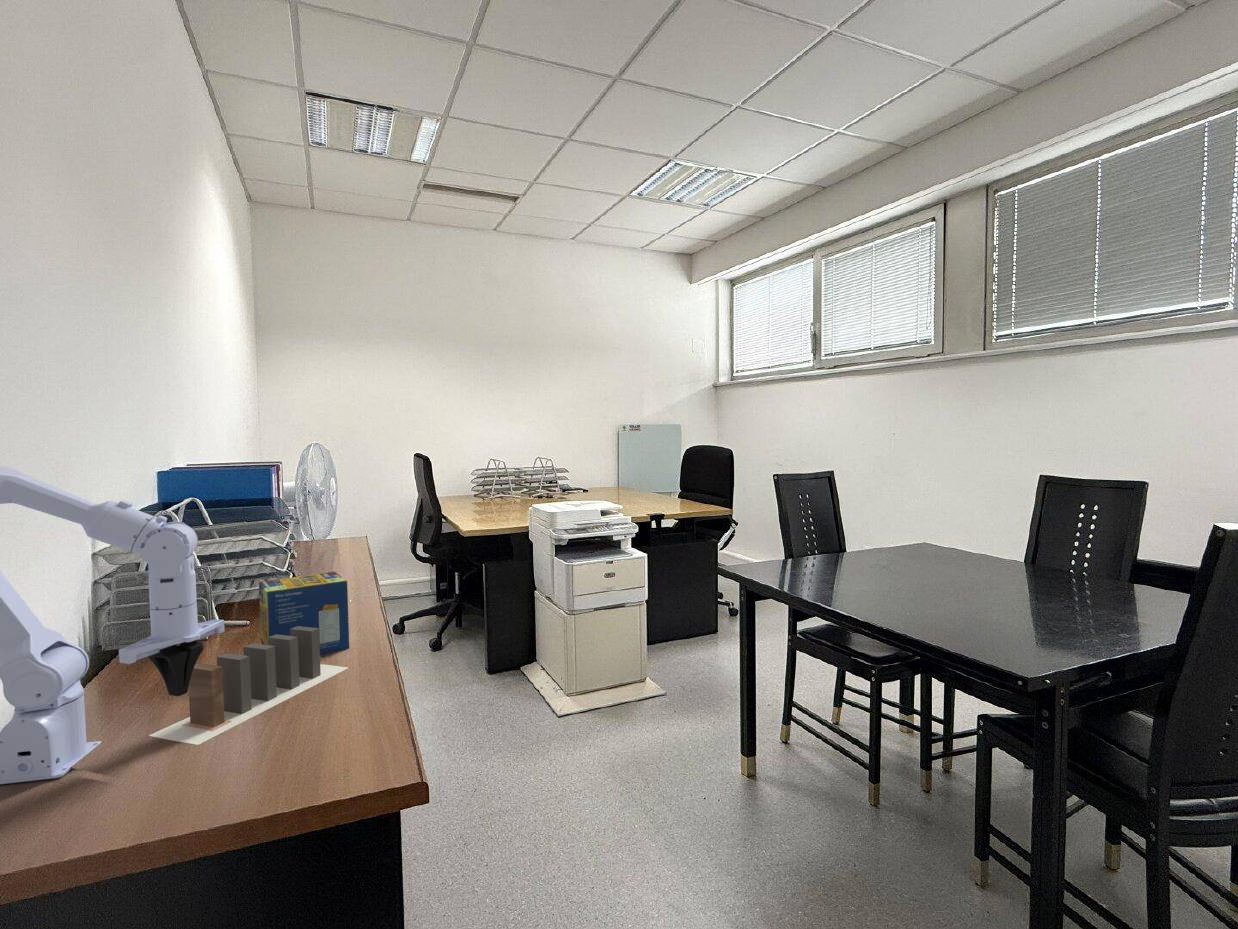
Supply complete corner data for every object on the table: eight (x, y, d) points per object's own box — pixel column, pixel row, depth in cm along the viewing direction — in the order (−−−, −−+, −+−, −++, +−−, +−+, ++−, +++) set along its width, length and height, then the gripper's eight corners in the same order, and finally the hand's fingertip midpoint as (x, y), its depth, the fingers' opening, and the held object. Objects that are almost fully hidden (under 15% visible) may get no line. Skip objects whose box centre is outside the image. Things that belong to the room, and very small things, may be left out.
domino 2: (242, 714, 101) (239, 660, 100) (218, 710, 102) (216, 657, 102) (251, 709, 102) (249, 656, 102) (228, 705, 104) (226, 653, 103)
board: (198, 749, 91) (197, 744, 91) (148, 739, 94) (148, 735, 94) (349, 670, 120) (348, 667, 120) (307, 665, 123) (307, 662, 123)
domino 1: (214, 727, 96) (211, 670, 95) (190, 723, 97) (187, 667, 97) (224, 722, 98) (222, 666, 97) (201, 718, 99) (198, 663, 99)
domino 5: (313, 678, 115) (311, 631, 114) (291, 676, 116) (290, 629, 116) (320, 675, 117) (318, 628, 116) (299, 672, 118) (297, 626, 118)
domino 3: (268, 701, 105) (265, 649, 105) (245, 697, 107) (243, 646, 106) (276, 697, 107) (274, 646, 107) (254, 693, 109) (252, 643, 108)
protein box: (260, 654, 130) (257, 581, 129) (338, 638, 139) (336, 571, 139) (268, 669, 122) (265, 591, 121) (350, 651, 131) (348, 579, 130)
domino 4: (291, 689, 110) (289, 640, 110) (269, 686, 112) (267, 637, 111) (299, 685, 112) (297, 636, 111) (277, 682, 113) (275, 634, 113)
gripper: (142, 621, 84) (147, 718, 85) (237, 594, 98) (241, 678, 99) (106, 617, 86) (111, 712, 87) (204, 591, 100) (208, 673, 101)
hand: (178, 693), depth 93 cm, fingers closed
